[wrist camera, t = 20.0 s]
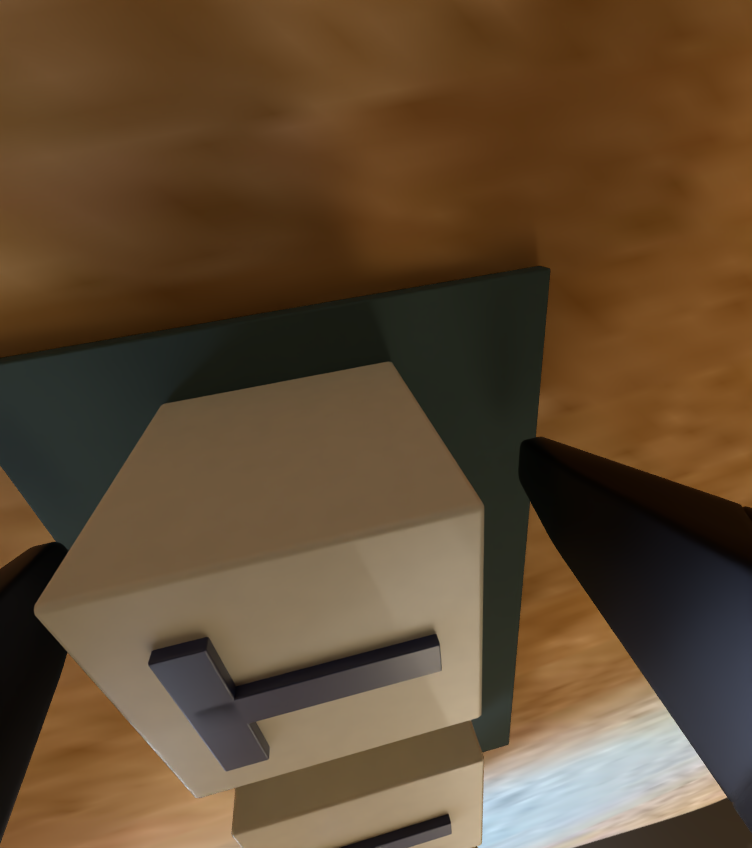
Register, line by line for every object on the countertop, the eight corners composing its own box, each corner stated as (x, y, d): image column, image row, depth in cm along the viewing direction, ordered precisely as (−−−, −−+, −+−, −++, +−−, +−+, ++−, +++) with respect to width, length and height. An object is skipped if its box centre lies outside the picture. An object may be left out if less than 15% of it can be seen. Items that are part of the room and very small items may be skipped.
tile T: (231, 566, 10) (193, 816, 6) (160, 402, 8) (15, 626, 4) (410, 524, 10) (487, 728, 6) (392, 359, 8) (493, 514, 4)
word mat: (259, 807, 17) (258, 819, 17) (-51, 365, 7) (-69, 374, 7) (504, 734, 18) (508, 744, 18) (540, 265, 8) (551, 267, 8)
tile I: (290, 694, 13) (291, 917, 9) (251, 604, 11) (228, 848, 7) (426, 657, 13) (485, 853, 9) (416, 564, 11) (489, 770, 7)
